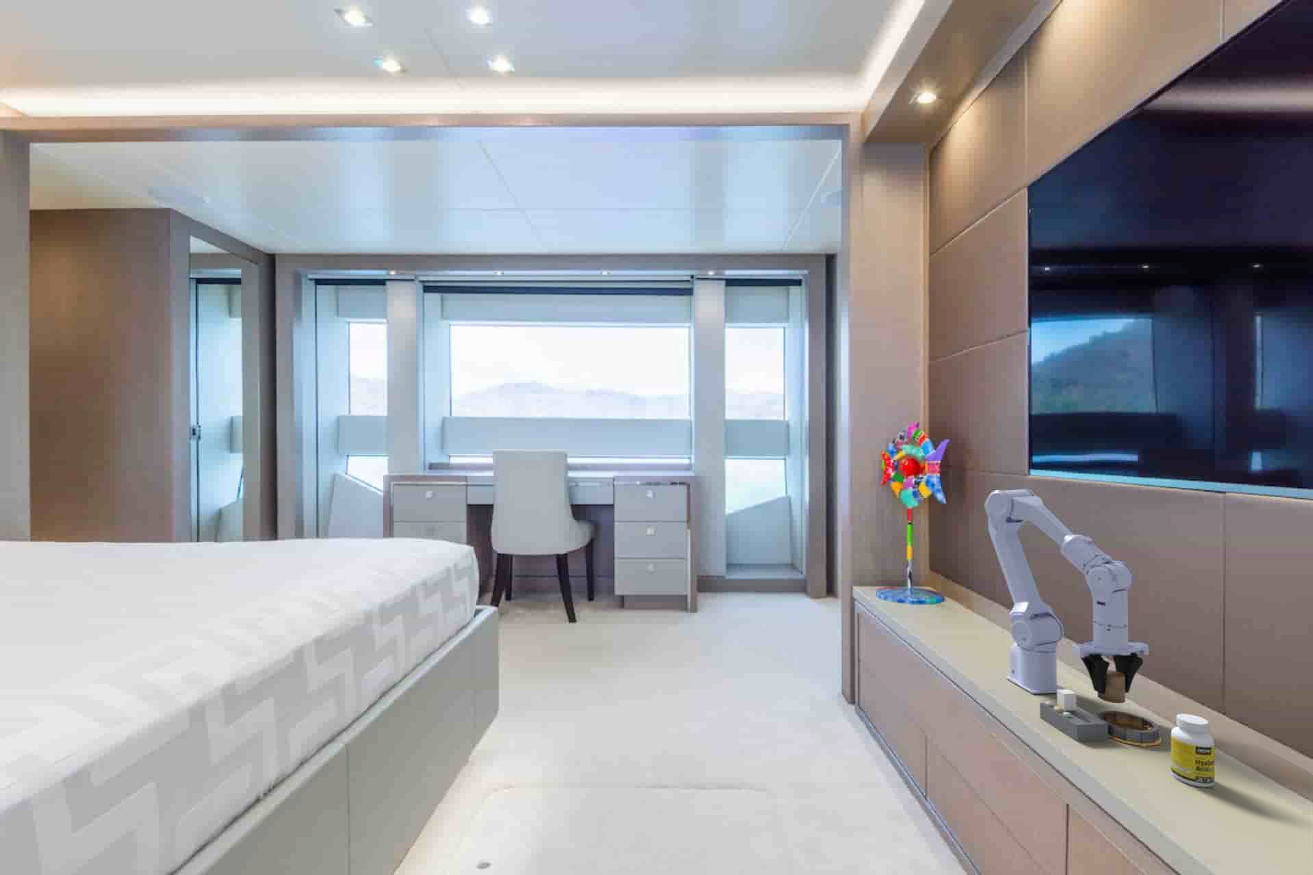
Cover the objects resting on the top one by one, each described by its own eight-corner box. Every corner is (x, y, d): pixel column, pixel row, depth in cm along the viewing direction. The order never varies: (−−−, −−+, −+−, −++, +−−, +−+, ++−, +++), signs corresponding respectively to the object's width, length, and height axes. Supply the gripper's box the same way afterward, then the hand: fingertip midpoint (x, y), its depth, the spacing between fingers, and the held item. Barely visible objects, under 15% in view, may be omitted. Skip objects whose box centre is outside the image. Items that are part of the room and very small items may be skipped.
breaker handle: (1057, 706, 124) (1056, 689, 124) (1068, 705, 125) (1068, 689, 125) (1064, 710, 122) (1064, 693, 122) (1076, 709, 123) (1076, 693, 123)
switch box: (1040, 717, 127) (1040, 699, 127) (1069, 716, 127) (1068, 698, 127) (1077, 741, 117) (1076, 721, 117) (1108, 739, 117) (1107, 720, 117)
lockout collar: (1082, 722, 124) (1082, 711, 124) (1131, 720, 125) (1130, 708, 125) (1123, 747, 114) (1123, 734, 114) (1176, 744, 115) (1176, 731, 115)
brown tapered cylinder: (1092, 694, 130) (1091, 669, 130) (1113, 693, 130) (1112, 669, 130) (1109, 703, 125) (1109, 678, 125) (1131, 702, 126) (1130, 677, 126)
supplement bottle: (1198, 790, 100) (1197, 727, 100) (1163, 773, 105) (1161, 713, 105) (1223, 785, 101) (1222, 723, 102) (1187, 768, 107) (1186, 709, 107)
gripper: (1090, 630, 123) (1091, 700, 123) (1161, 627, 124) (1162, 697, 124) (1064, 620, 130) (1065, 686, 130) (1132, 617, 131) (1133, 683, 131)
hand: (1111, 691), depth 128 cm, fingers closed on brown tapered cylinder, 4 cm apart
